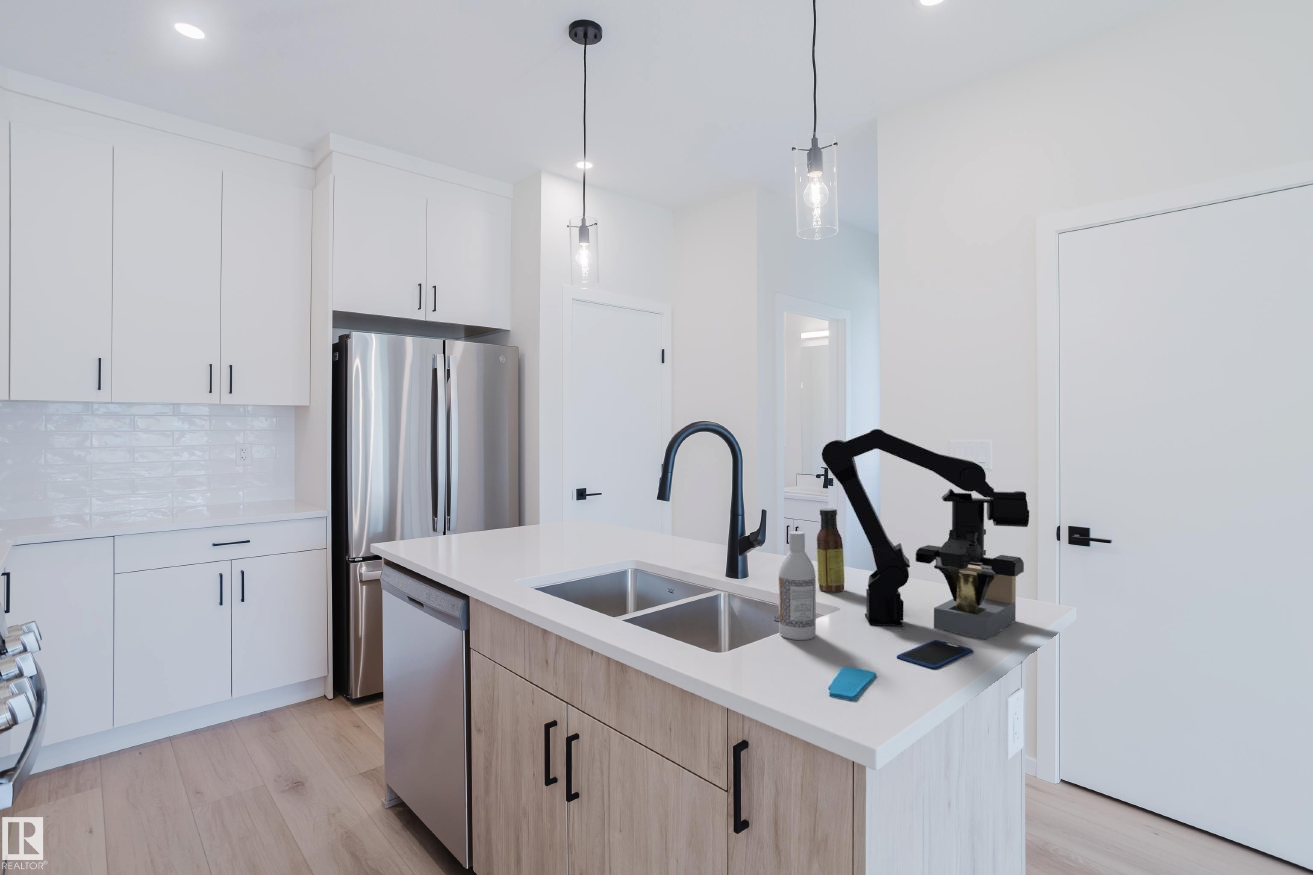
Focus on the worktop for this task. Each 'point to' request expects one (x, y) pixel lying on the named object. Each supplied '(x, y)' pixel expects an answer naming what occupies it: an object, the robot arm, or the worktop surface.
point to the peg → (966, 592)
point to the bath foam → (797, 592)
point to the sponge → (850, 683)
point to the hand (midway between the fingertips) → (967, 603)
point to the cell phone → (934, 654)
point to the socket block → (981, 610)
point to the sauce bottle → (830, 553)
